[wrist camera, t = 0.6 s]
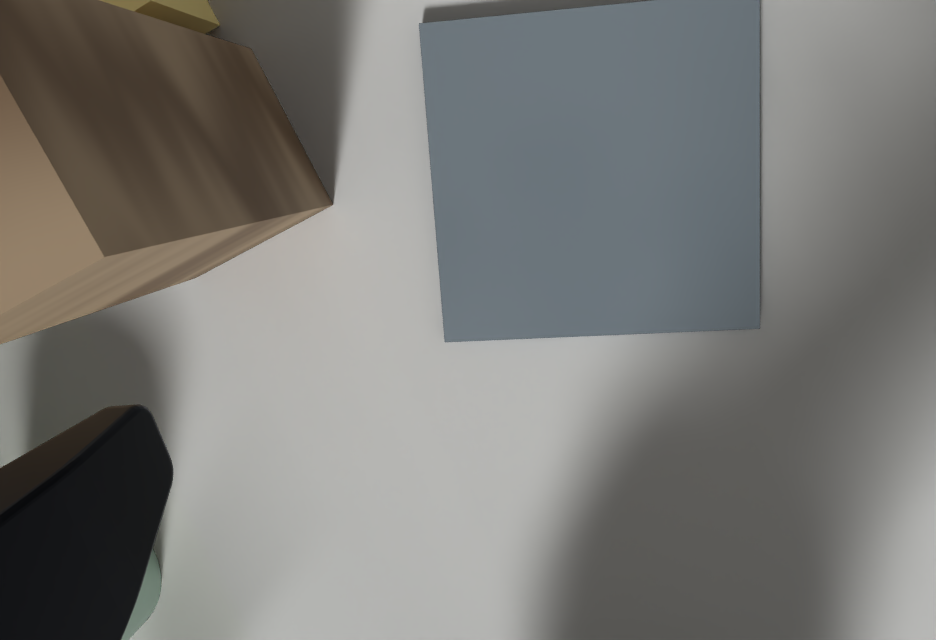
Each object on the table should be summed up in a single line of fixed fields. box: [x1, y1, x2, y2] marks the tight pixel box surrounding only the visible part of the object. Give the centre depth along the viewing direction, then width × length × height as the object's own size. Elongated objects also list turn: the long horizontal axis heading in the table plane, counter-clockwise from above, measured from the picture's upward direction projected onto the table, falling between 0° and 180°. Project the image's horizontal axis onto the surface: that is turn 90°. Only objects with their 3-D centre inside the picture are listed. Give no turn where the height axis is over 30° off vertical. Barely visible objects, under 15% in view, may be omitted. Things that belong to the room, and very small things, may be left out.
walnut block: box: [0, 0, 333, 344], centre depth 18 cm, size 5×5×12 cm
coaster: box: [419, 0, 760, 342], centre depth 22 cm, size 9×9×1 cm
